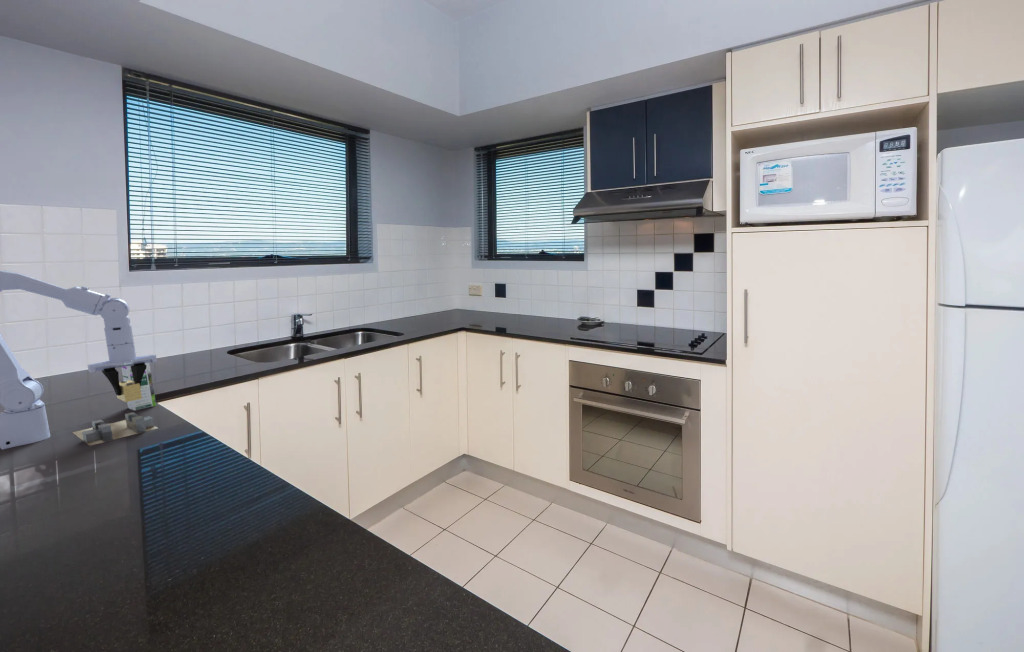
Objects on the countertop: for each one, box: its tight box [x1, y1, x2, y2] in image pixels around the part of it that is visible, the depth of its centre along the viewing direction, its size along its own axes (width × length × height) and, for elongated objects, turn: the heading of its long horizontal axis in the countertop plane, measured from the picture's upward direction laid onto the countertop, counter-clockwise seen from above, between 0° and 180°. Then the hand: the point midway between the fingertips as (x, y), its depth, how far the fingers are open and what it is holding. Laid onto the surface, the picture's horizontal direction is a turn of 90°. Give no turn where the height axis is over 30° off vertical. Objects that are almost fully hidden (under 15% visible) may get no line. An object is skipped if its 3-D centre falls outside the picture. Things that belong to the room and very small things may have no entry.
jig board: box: [71, 419, 158, 446], centre depth 129 cm, size 14×18×1 cm
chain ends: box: [82, 411, 155, 444], centre depth 126 cm, size 14×9×4 cm, turn 141°
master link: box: [115, 380, 142, 403], centre depth 134 cm, size 4×8×4 cm, turn 51°
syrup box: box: [120, 363, 157, 411], centre depth 150 cm, size 6×6×14 cm
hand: (128, 393), depth 134 cm, fingers closed on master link, 4 cm apart
